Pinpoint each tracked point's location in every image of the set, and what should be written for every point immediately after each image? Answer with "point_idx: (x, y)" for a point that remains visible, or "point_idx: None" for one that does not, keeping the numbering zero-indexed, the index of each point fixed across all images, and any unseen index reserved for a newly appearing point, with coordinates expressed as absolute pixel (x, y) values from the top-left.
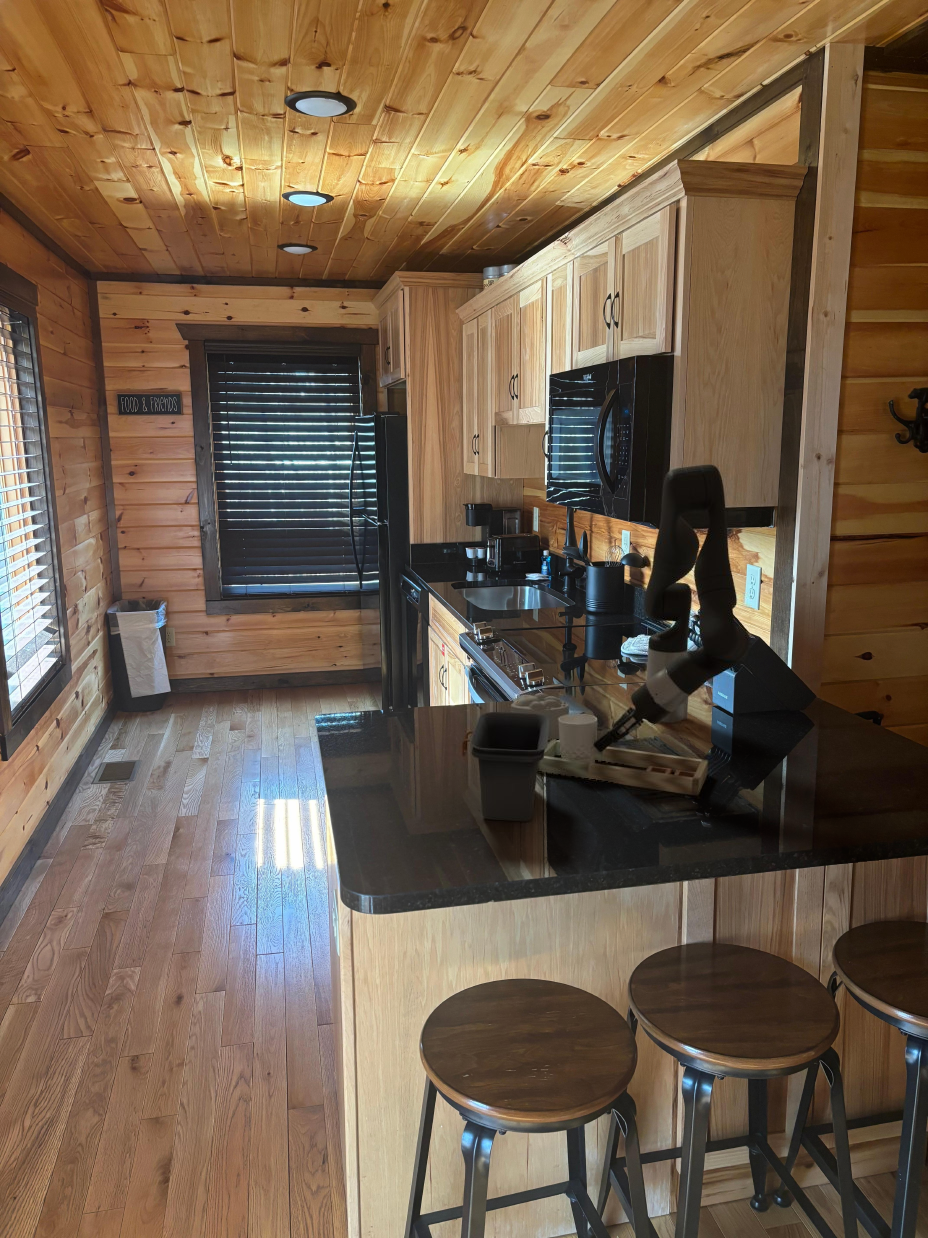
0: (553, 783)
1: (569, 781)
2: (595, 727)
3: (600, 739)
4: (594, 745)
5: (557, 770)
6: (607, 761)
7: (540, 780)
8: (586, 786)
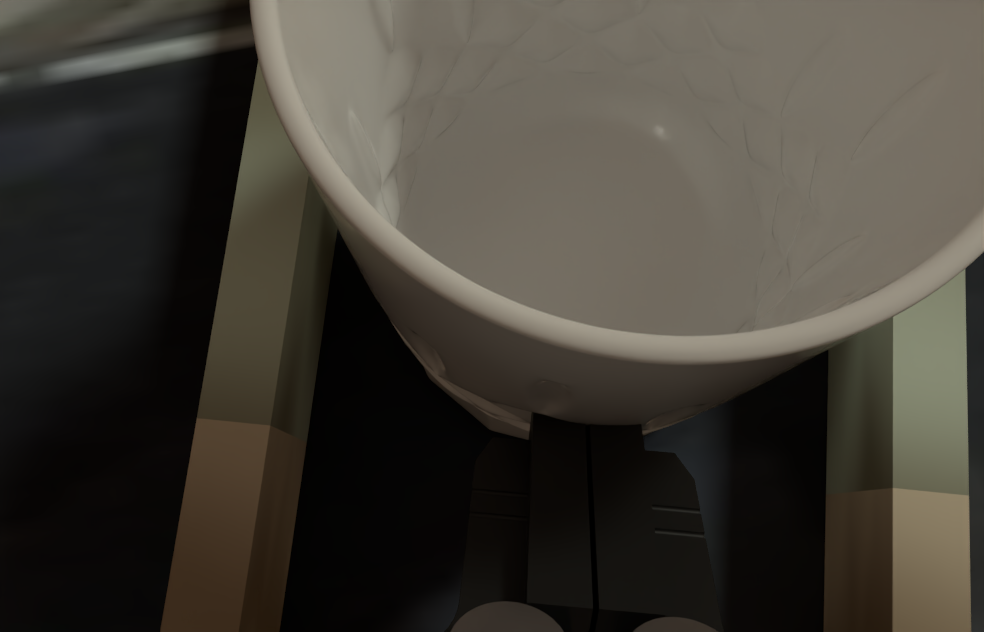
0: (52, 146)
1: (141, 273)
2: (559, 373)
3: (529, 498)
4: (532, 414)
5: None
6: (828, 554)
7: (102, 27)
8: (42, 453)
